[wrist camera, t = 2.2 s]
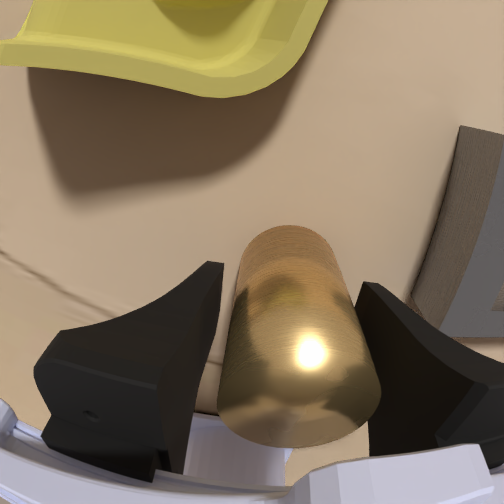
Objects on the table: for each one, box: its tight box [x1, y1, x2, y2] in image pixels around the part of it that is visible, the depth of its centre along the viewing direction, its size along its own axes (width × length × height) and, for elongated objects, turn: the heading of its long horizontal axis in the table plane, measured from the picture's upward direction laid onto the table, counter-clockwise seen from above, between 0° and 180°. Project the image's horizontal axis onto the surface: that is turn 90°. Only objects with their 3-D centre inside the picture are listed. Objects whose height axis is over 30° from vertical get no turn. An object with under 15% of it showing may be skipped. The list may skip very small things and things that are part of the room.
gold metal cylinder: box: [217, 225, 381, 448], centre depth 10 cm, size 4×4×7 cm
